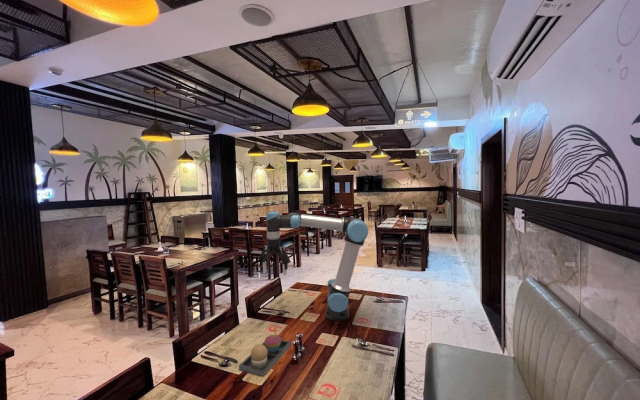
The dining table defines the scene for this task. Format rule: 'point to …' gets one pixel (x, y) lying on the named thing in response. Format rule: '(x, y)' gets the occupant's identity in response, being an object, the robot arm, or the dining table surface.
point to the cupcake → (273, 342)
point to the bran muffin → (259, 356)
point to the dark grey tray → (271, 360)
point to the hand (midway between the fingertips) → (274, 273)
